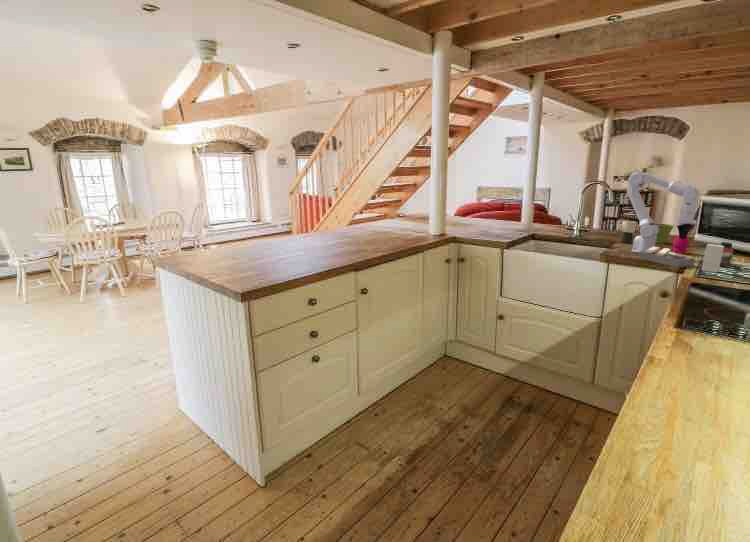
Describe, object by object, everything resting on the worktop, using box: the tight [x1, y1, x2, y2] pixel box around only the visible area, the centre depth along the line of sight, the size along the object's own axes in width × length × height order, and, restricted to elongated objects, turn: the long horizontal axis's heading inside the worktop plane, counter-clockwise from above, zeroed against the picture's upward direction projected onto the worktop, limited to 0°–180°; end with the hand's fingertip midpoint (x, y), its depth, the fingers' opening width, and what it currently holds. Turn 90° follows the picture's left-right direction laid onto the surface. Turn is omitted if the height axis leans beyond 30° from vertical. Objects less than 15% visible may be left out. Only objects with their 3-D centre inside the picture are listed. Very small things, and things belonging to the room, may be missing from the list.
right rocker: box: [668, 251, 683, 257], centre depth 198 cm, size 3×6×1 cm, turn 115°
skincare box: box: [701, 243, 724, 273], centre depth 188 cm, size 6×4×12 cm
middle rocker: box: [657, 247, 672, 256], centre depth 203 cm, size 3×6×1 cm, turn 115°
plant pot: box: [654, 222, 675, 245], centre depth 253 cm, size 12×12×11 cm
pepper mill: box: [672, 224, 694, 254], centre depth 225 cm, size 7×7×20 cm
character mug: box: [618, 220, 640, 244], centre depth 250 cm, size 11×7×13 cm, turn 80°
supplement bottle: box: [720, 241, 734, 268], centre depth 199 cm, size 6×6×11 cm
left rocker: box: [646, 246, 660, 253], centre depth 208 cm, size 3×6×1 cm, turn 115°
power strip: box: [636, 250, 696, 269], centre depth 204 cm, size 20×12×4 cm, turn 25°
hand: (682, 238), depth 209 cm, fingers closed
